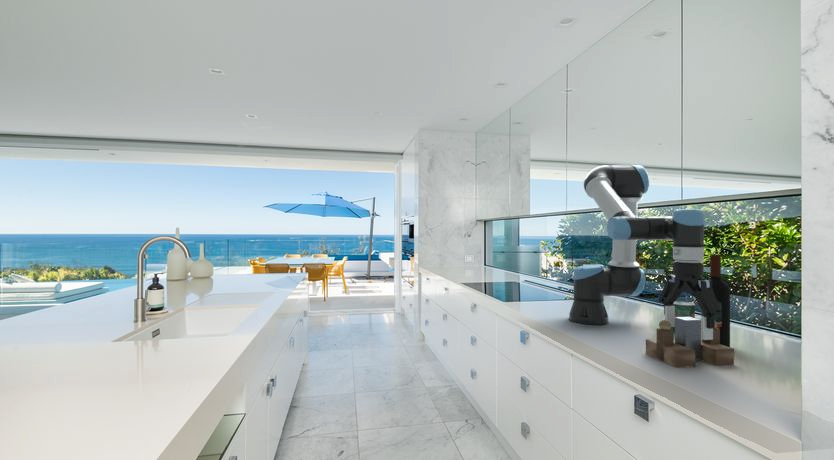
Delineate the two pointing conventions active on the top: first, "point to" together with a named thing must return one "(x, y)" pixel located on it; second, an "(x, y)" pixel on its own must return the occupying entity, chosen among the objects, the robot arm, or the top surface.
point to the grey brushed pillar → (689, 334)
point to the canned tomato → (683, 310)
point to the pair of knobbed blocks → (687, 349)
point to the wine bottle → (720, 300)
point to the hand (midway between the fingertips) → (687, 332)
